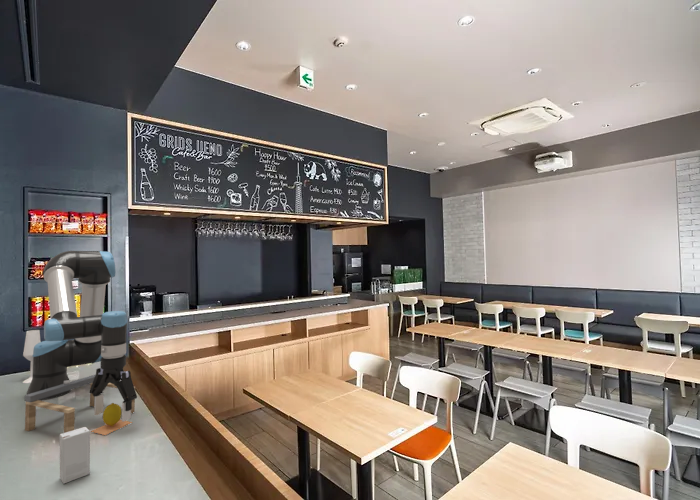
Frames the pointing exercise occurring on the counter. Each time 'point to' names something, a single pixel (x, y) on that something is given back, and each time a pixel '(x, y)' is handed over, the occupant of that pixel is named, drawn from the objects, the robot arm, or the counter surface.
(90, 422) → the counter surface
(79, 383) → the bar
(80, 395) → the counter surface
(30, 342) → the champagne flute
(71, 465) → the skincare box
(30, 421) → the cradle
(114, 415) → the lemon
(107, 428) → the pad
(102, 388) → the robot arm
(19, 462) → the counter surface
